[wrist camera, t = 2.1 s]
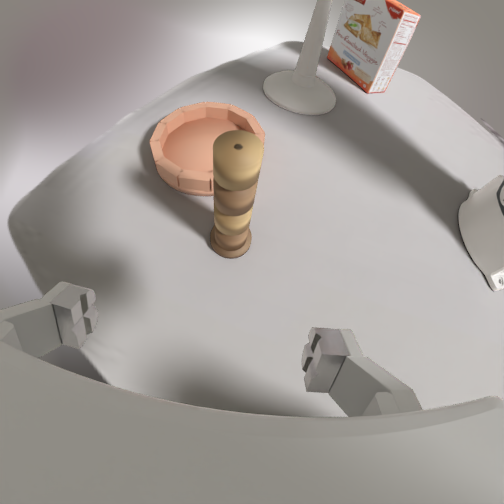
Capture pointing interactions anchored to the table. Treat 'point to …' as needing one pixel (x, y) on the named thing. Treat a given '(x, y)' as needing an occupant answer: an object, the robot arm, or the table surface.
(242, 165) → the tan wooden ridged cylinder
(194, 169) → the dish
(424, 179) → the table surface
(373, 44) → the cracker box
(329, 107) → the candlestick
